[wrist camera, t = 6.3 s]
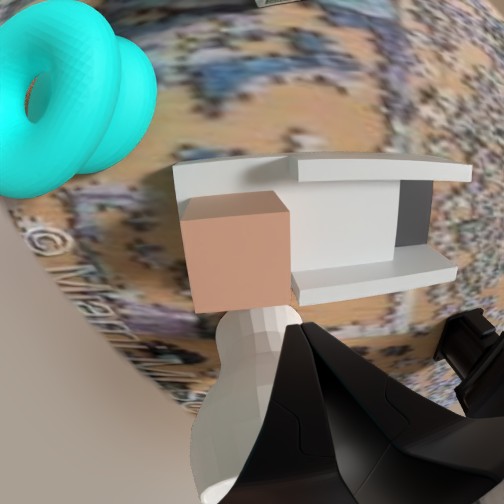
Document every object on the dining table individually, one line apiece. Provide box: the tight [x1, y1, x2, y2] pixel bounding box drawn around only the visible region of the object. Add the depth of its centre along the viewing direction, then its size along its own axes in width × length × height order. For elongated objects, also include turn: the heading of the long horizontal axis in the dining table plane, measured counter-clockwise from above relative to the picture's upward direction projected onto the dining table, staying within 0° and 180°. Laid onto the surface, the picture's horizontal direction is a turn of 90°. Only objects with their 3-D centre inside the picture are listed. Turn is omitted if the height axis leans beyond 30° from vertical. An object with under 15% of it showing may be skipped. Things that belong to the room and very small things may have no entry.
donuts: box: [0, 0, 157, 199], centre depth 12 cm, size 10×10×10 cm
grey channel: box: [172, 152, 472, 306], centre depth 19 cm, size 9×20×5 cm, turn 94°
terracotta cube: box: [180, 190, 291, 313], centre depth 17 cm, size 5×5×5 cm
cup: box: [190, 305, 303, 504], centre depth 19 cm, size 11×11×15 cm
